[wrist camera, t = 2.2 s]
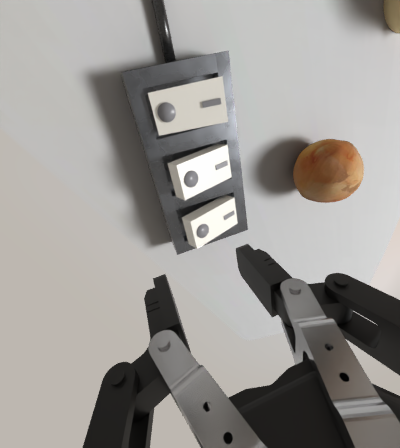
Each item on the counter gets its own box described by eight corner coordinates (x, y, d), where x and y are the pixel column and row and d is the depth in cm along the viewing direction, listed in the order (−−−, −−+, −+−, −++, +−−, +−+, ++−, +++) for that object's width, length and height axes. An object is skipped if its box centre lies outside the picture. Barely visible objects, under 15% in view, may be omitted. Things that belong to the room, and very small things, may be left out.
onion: (338, 146, 42) (395, 157, 34) (310, 197, 45) (356, 219, 37) (299, 125, 38) (353, 132, 29) (271, 184, 41) (313, 205, 33)
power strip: (203, -40, 26) (216, -61, 22) (236, 219, 42) (247, 229, 39) (90, -25, 24) (86, -46, 20) (171, 241, 40) (177, 254, 36)
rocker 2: (224, 194, 36) (235, 197, 34) (228, 219, 38) (238, 223, 36) (181, 217, 32) (191, 222, 31) (188, 243, 34) (197, 249, 33)
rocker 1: (221, 76, 26) (222, 76, 24) (226, 119, 28) (228, 121, 26) (151, 92, 27) (147, 93, 25) (161, 132, 29) (158, 135, 27)
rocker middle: (217, 143, 32) (228, 144, 30) (221, 175, 34) (232, 177, 33) (167, 163, 28) (177, 165, 27) (176, 196, 31) (185, 200, 29)
